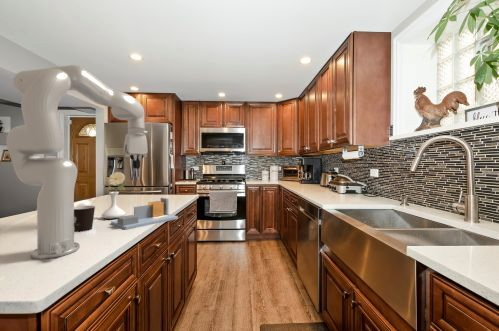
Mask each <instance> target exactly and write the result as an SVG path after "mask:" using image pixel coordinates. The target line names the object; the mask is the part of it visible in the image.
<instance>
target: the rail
mask: <svg viewBox="0 0 499 331" xmlns="http://www.w3.org/2000/svg"><path fill="white" fill-rule="evenodd" d="M160 201H161V202H164V215H160V216H155V217H152V208H150V205H148V204H146V205H145V204H144V205H139V206H134V207H133V214H130V215H124V216H122V217H117V218H116V220H111V222H110V223H111V225H113V226H115V227H118V228H121V229H124V230H126V231H127V230H131V229H136V228H141V227H145V226H150V225H154V224H158V223H160V224H161V223H164V222H168V221H173V220H178V219H179V216H177V215H174V214H170V213H169V198H166V197H160Z"/></svg>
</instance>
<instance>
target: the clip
mask: <svg viewBox="0 0 499 331" xmlns="http://www.w3.org/2000/svg"><path fill="white" fill-rule="evenodd" d="M147 205H150V208H152V217H155V216H160V215H164V202H161V200H156V201H148V202H147Z"/></svg>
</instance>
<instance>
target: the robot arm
mask: <svg viewBox="0 0 499 331" xmlns="http://www.w3.org/2000/svg"><path fill="white" fill-rule="evenodd" d="M12 80H13V81H12V82H13V85H14V86H13V87H14V88H15V89H16V91H17V92H18V93H20V95H22V98H21V103H20V104H21V105H20V108H21V113H22V118H23V123H24V124H23V125H18V126H15V127H13V128H11V129H10V131H9V132H8V134H7V135H6V140H5V141H6V147H7V150H8V153H9V157H10V160H11V163H12V167H13V169H14V172H15V174H16V176H17V178H18V179H19V180H20V181H21V182H22V183H23V184H26V185H29V186H39V187H40V186H41V188H40V190H39V192H38V196H37V200H36V214H37V215H36V216H37V217H36V223H37V224H36V225H37V226H36V229H37V230H36V231H37V233H36V236H37V238H36V242H37V244H36V246H37V247H36V248H35V249H34V250H32V251H31V252H30V257H31V258H32V259H39V260H40V259H42V260H43V259H46V260H47V259H53V258H58V257H62V256H67V255H70V254H72V253H75V252H76V251H78V250H79V249H80V247H81V246H80V245H81V244H80V243H78V242H75V229H74V207H75V201H74V200H75V187H76V182H77V177H78V168H77V166H76V164H75V162H73V161H72V160H70V159H68V158H66V157H60V156H59V157H56V156H54V157H53V156H52V157H51V156H50V157H48V156H47V157H45V155H51V154H52V155H53V154H58V153H59V152H62V151H63V150H64V147H65V137H64V134H63V129H62V125H61V121H60V116H59V112H58V107H59V103H60V101H61V99H62V98H63V97H64V95H66V94H67V93H68V92H69V91H76V92H77V93H78V94H81V95H82V96H84V97H86V98H87V99H89V100H90V101H92V102H93V103H95V104H97V105H100V106H104V107H111V109H110V111H111V114H112V116H113V117H114V118H115V119H117V120H120V121H123V120H125V121H127V134H125V139H124V146H123V153H124V157H128V158H129V159H131V161H132V168H133V169H140V167H141V161H142V159H143V158H147V157H148V152H149V151H148V140H147V136H146V135H145V134H147V133H148V131H147V130H146V128H145V126H146V125H145V109H144V107H143V105H142V103H141V102H140V101H138V100H137V98H135V97H133V96H132V95H130V94H128V93H126V92H124V91H122V90H121V91H120V90H118V89H115V88H113V87H109V86H108V85H107V84H105V83H104V82H103V81H101V80H100V79H99V78H98V77H96V76H95V75H94V74H92V73H91V72H89V70H87V69H85V68H84V67H83V66H80V65H75V64H74V65H62V66H60V65H59V66H53V67H45V68H39V69H38V68H37V69H30V70H29V69H28V70H21V71H18V72H17V73H16V74H14V76H13V78H12Z"/></svg>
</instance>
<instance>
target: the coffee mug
mask: <svg viewBox="0 0 499 331" xmlns="http://www.w3.org/2000/svg"><path fill="white" fill-rule="evenodd" d="M95 210H96V205H79V206H74V233H75V232H77V233H81V232H88V231H91V230H92V229H93V226H94V217H95Z"/></svg>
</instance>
